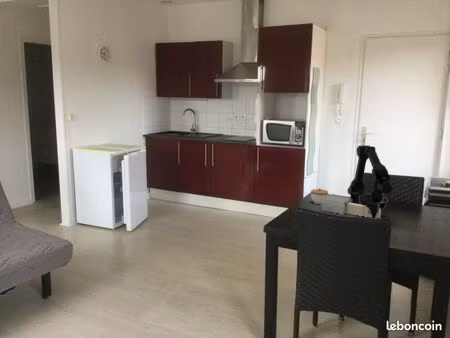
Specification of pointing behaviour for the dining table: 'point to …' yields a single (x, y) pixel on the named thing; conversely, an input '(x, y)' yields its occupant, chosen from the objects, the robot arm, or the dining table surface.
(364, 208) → the beige rectangular box
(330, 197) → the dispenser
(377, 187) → the robot arm
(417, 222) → the dining table surface
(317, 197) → the lidded jar
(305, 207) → the dining table surface
